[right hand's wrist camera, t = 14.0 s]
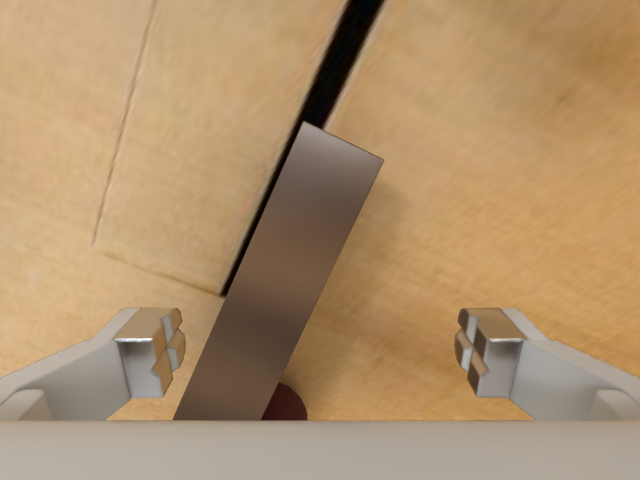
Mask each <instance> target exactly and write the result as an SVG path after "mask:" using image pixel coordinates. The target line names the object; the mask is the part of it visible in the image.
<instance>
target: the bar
mask: <svg viewBox="0 0 640 480" xmlns="http://www.w3.org/2000/svg"><path fill="white" fill-rule="evenodd" d="M383 162H384V159H382V158H380V157H378V156H376V155H374V154H371V153H369V152H367V151H365V150H363V149H361V148H359V147H357V146H355V145H353V144H351V143H349V142H347V141H345V140H343V139H340V138H338V137H336V136H334V135H332V134H330V133H328V132H326V131H324V130H322V129H320V128H318V127H316V126H314V125H312V124H309V123H307V122H305V121H304V122H303V123H302V125H301V128H300V130H299V132H298V135H297V137H296V139H295V141H294V144H293V146H292V148H291V151H290V153H289V155H288V157H287V160H286V162H285V164H284V167H283V169H282V171H281V173H280V176H279V178H278V180H277V182H276V185H275V187H274V189H273V192H272V194H271V196H270V198H269V201H268V203H267V205H266V208H265V210H264V212H263V214H262V217H261V219H260V221H259V224H258V226H257V228H256V230H255V233H254V235H253V237H252V239H251V242H250V244H249V246H248V249H247V251H246V253H245V255H244V258H243V260H242V262H241V265H240V267H239V269H238V271H237V274H236V276H235V278H234V281H233V283H232V285H231V287H230V290H229V292H228V294H227V297H226V299H225V301H224V303H223V306H222V308H221V310H220V312H219V315H218V317H217V319H216V322H215V324H214V326H213V328H212V331H211V333H210V335H209V338H208V340H207V342H206V344H205V347H204V349H203V351H202V354H201V356H200V358H199V360H198V363H197V365H196V367H195V369H194V372H193V374H192V376H191V379H190V381H189V383H188V385H187V388H186V390H185V392H184V395H183V397H182V399H181V401H180V404H179V406H178V408H177V411H176V413H175V415H174V417H173V420H256V421H260V420H261V418H262V416H263V414H264V412H265V410H266V407H267V405H268V403H269V401H270V399H271V397H272V395H273V393H274V391H275V389H276V386H277V384H278V382H279V380H280V378H281V376H282V374H283V372H284V370H285V368H286V365H287V363H288V361H289V359H290V357H291V355H292V353H293V351H294V349H295V347H296V344H297V342H298V340H299V338H300V336H301V334H302V332H303V330H304V328H305V326H306V323H307V321H308V319H309V317H310V315H311V313H312V311H313V309H314V307H315V305H316V302H317V300H318V298H319V296H320V294H321V292H322V290H323V288H324V286H325V284H326V282H327V279H328V277H329V275H330V273H331V271H332V269H333V267H334V265H335V263H336V261H337V258H338V256H339V254H340V252H341V250H342V248H343V246H344V244H345V242H346V240H347V237H348V235H349V233H350V231H351V229H352V227H353V225H354V223H355V221H356V219H357V216H358V214H359V212H360V210H361V208H362V206H363V204H364V202H365V200H366V198H367V195H368V193H369V191H370V189H371V187H372V185H373V183H374V181H375V179H376V177H377V174H378V172H379V170H380V168H381V166H382V164H383Z"/></svg>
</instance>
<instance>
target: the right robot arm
mask: <svg viewBox="0 0 640 480" xmlns="http://www.w3.org/2000/svg"><path fill="white" fill-rule="evenodd" d="M181 323H182V317H181V312H180V311H179V310H178V308H146V307H144V308H142V307H127V308H122V309H121V310H120V311H119V312H118V313H117V314H116V315H115V316H114V317H113V318H112V319H111V320H110V321H109V322H108V323H107V324H106V325H105V326H104V327H103V328H102V329H101V330H100V331H99V332H98V333H97V334H96V335H95V336H94V337H93V338H92V339H91V340H84V341H82V342H79V343H77V344H75V345H73V346H70V347H68V348H66V349H64V350H61V351H59V352H57V353H55V354H52V355H50V356H48V357H46V358H43V359H41V360H39V361H37V362H34V363H32V364H30V365H28V366H25V367H23V368H21V369H19V370H16V371H14V372H12V373H10V374H8V375H5V376H3V377H1V378H0V480H640V378H639V377H637V376H635V375H632V374H630V373H628V372H626V371H623V370H621V369H619V368H617V367H614V366H612V365H610V364H608V363H605V362H603V361H601V360H599V359H596V358H594V357H592V356H590V355H588V354H585V353H583V352H581V351H579V350H576V349H574V348H572V347H570V346H567V345H565V344H563V343H561V342H558V341H556V340H549V339H548V338H547V337H546V336H545V335H544V334H543V333H542V332H541V331H540V330H539V329H538V328H537V327H536V326H535V325H534V324H533V323H532V322H531V321H530V320H529V319H528V318H527V317H526V316H525V315H524V314H523V313H522V312H521V311H520V310H519V309H518V308H515V307H503V308H466V309H461V311H460V313H459V317H458V323H459V324H460V326H461V327H462V328H461V330H460V331H459V332H458V333H457V334H456V336H455V344H454V346H455V355H456V358H457V361H458V363H459V365H460V367H461V368H462V369H464V370H465V371H467V372H468V376H467V380H468V382H469V384H470V385H471V387H472V389H473V391H474V393H475V395H476V396H477V397H485V398H510V399H509V400H510V401H512V402H513V403H514V404H516V405H517V406H518V407H519V408H521V409H522V410H523V411H524V412H526V413H527V414H528V415H529V416H531V417H532V418H533V419H535V420H305V421H304V420H302V421H256V420H106V419H107V418H108V417H109V416H111V415H112V414H113V413H114V412H116V411H117V410H118V409H120V408H121V407H122V406H123V405H125V404H126V403H127V402H128V401H130V400H131V399H130V398H154V397H163V396H164V395H165V393H166V391H167V389H168V387H169V385H170V384H171V382H172V380H173V376H172V372H173V371H175V370H176V369H178V368H179V367H180V365H181V363H182V361H183V358H184V354H185V335H184V334H183V333H182V332H181V331H180V330H179V328H178V327H179V326H180V324H181Z"/></svg>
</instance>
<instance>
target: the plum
mask: <svg viewBox="0 0 640 480" xmlns="http://www.w3.org/2000/svg"><path fill="white" fill-rule="evenodd" d="M302 420H304V421H305V420H307V411H306V408H305V405H304V404H303V402H302V400H301V398H300V397H299V396H298V395H297V394H296V393H295V392H294V391H293V390H292V389H291V388H290V387H288V386H286V385H283V384H281V383H278V384H277V386H276V389H275V391H274V393H273V395H272V397H271V399H270V401H269V403H268V405H267V407H266V410H265V412H264V414H263V416H262V418H261V420H260V421H302Z"/></svg>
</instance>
